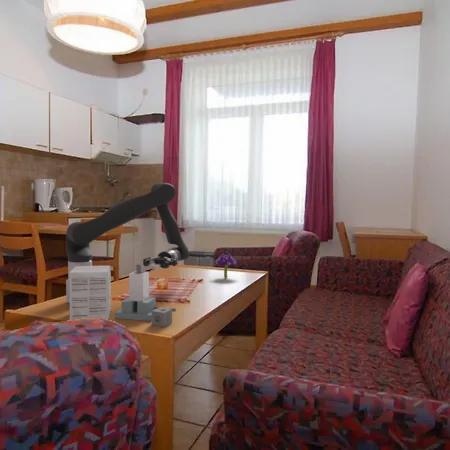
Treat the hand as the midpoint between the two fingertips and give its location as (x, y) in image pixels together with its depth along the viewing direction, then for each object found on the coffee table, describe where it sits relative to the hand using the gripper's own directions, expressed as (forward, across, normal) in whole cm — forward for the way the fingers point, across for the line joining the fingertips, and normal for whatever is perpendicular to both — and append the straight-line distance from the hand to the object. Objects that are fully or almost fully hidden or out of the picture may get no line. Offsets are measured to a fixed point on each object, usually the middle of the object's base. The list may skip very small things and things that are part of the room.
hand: (155, 264), depth 154 cm
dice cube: (+24, +11, +17) cm, 31 cm away
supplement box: (+20, -17, +17) cm, 31 cm away
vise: (+16, +3, +17) cm, 23 cm away
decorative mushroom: (-61, +19, +17) cm, 66 cm away
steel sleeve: (+16, 0, +10) cm, 19 cm away
